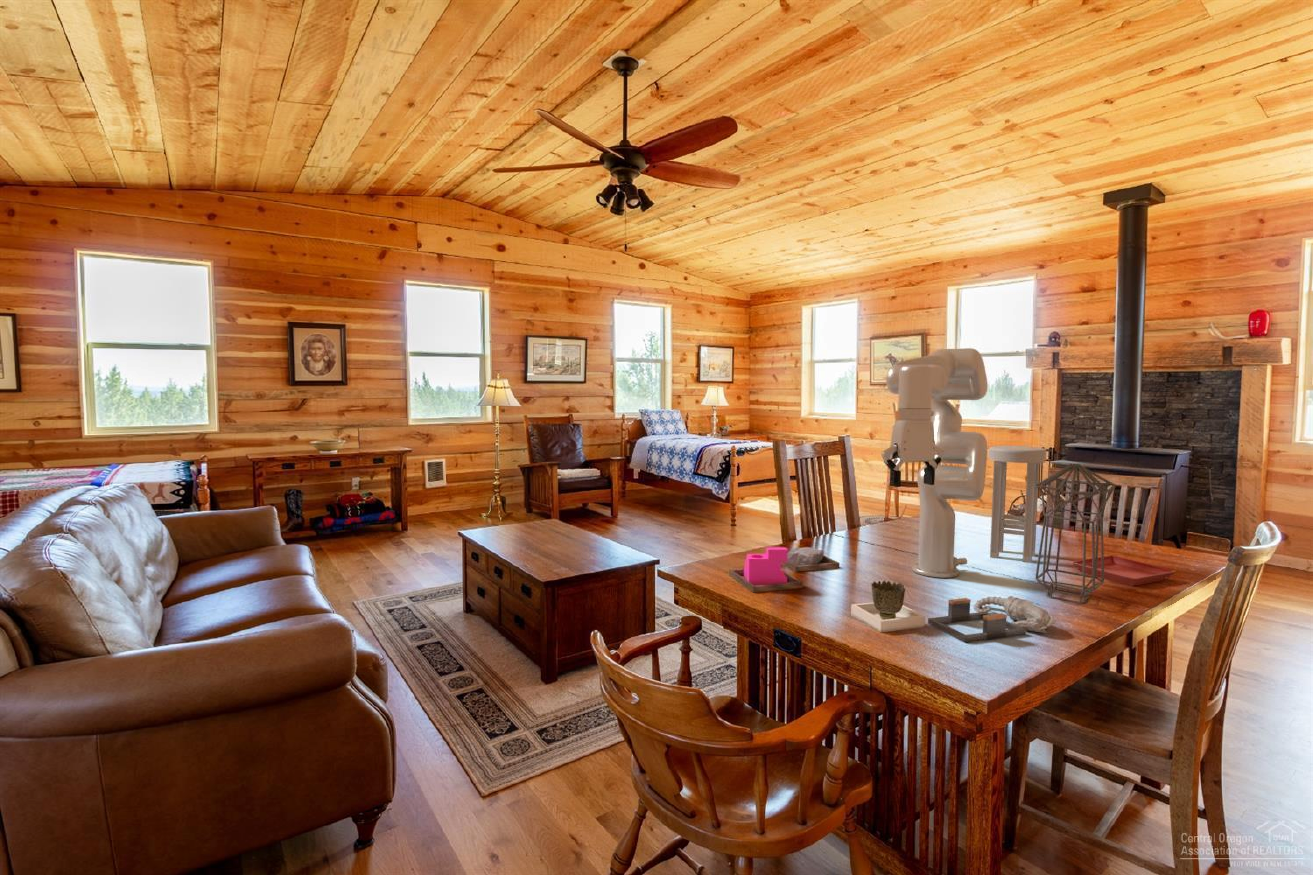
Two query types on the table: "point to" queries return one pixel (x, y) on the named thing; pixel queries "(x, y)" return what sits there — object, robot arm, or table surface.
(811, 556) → the stone block
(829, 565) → the brown rectangular frame
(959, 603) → the frame
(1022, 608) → the seahorse
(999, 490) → the stool
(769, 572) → the bracket
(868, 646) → the table surface
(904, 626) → the tray
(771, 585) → the brown wooden square tray
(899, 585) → the cup
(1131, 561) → the plant saucer
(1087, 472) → the geometric lantern
